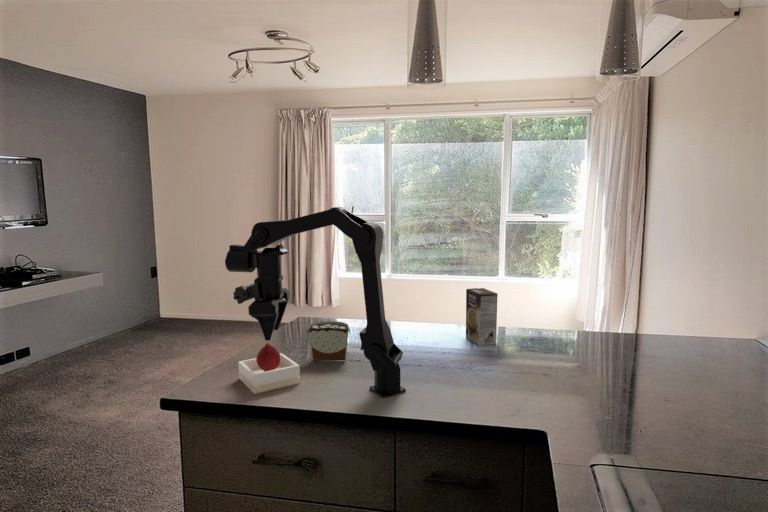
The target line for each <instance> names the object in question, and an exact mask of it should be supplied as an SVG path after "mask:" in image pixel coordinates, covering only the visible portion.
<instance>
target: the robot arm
mask: <svg viewBox="0 0 768 512" xmlns="http://www.w3.org/2000/svg"><path fill="white" fill-rule="evenodd" d="M330 226H335V227H336V228H337V229H338V230H339V231H341V233H343V235H345V236H347V237H348V238H350V239H351V240H352V241H351V242H352V244H353V248H354V252H355V254H356V255H357V258H358V260H359V262H360V267H361V276H362V286H363V296H364V297H363V298H364V306H365V316H366V326H365V327H364V328H363V329H362V330H361V331H360V332H359V338H360V342H361V345H360V351H363V355H364V357H365V358H366V359H367V360H368V361H369V363H370V366H371V368H372V370H373V371H374V372H373V373H374V385H370V386H369V387H368V388H369V390H371V391H372V392H374V393H375V394H377V395H379V396H380V397H382V398H387V397H391V396H395V395H397V394H402V393H405V392H407V389H406V388H405V387H404V386H402V385H401V367H400V364H399V362H400V361H401V359H402V357H403V355H404V352H403V351H402V349H400V348H399V346H397V344H395V343H394V339H393V335H392V334H393V333H392V331H391V328H390V326H389V323H388V322H387V319H386V314H385V313H386V312H385V303H384V291H383V283H382V282H383V281H382V274H381V273H382V270H381V257H382V256H381V255H382V251H383V244H384V231H383V227H381V226H380V225H379V224H378V223H377V222H373V221H369V222H368V221H367V220H365V219H364V218H363V217H360V216H359V215H355V214H354V213H352V212H350V211H349V210H347V209H346V208H344V207H342V206H335V207H334V206H333V207H331V208H329V209H326V210H323V211H318V212H316V213H315V212H314V213H311V214H307V215H303V216H299V217H295V218H291V219H281V220H269V221H260V222H257V223H255V224H253V227H252V229H251V233H250V234H251V235H250V236H249V238H248V239H247V241H246V243H245V244H244V245H241V244H230V245H229V246H228V247H229V249H228V251H227V253H226V256H225V260H224V263H225V268H226V270H227V271H228V272H230V273H254V271H257V272H256V278H255V279H254V280H253V283H251V284H249V285H246V286H244V285H243V284H242V285H240V286H237V287H236V288H235V289H234V292H233V293H232V294H233V299H234V300H236V302H237V304H238V305H241V304H243V303H244V302H246V301H247V302H248V301H249V300H251V299H254V300H253V301H252V303H251V304H250V305H248V307H247V309H248V316H250V317H251V318H254V319H256V321H258V323H259V325H260V328H261V331H262V334H263V337H264V340H265V342H268V341H271V339H272V336H273V333H274V331H279V329H280V326H281V323H282V320H283V317H284V315H285V312H286V309H287V307H288V304H289V301H290V299H291V295H290V290H288V289H287V287H283V285H282V284H283V283H282V281H283V280H284V275H283V274H282V264H281V263H282V261H281V260H282V259H281V256H285V255H287V254H289V253H290V252H289V250H288V249H287V248H285V247H284V246H283V244H279V243H280V242H282V241H286V240H287V239H289V238H290V237H293V236H295V235H298V234H301V233H305V232H311V231H314V230H317V229H321V228H326V227H330ZM275 244H277V245H276V246H275V247H268V246H272V245H275ZM260 249H262V250H261V251H260ZM258 250H259V251H258ZM284 299H285V300H284Z"/></svg>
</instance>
